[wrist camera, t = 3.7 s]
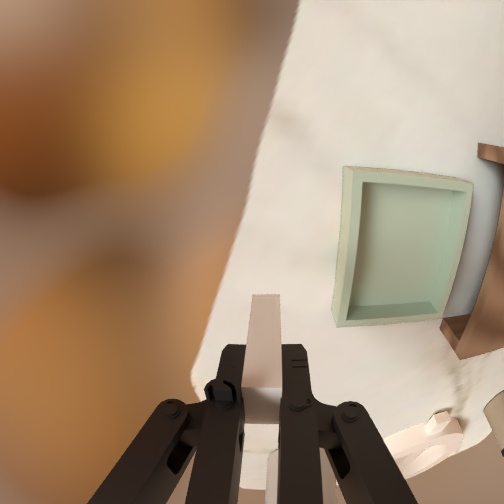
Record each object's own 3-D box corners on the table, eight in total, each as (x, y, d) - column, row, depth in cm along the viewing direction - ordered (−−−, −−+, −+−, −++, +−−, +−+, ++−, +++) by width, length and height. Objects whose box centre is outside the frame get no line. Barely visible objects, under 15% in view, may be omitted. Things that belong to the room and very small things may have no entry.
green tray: (343, 166, 21) (352, 170, 18) (455, 177, 20) (473, 184, 17) (331, 308, 27) (336, 327, 24) (430, 302, 26) (441, 318, 23)
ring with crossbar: (376, 477, 50) (378, 490, 46) (321, 463, 44) (322, 481, 40) (466, 430, 41) (471, 443, 37) (442, 401, 34) (450, 421, 30)
